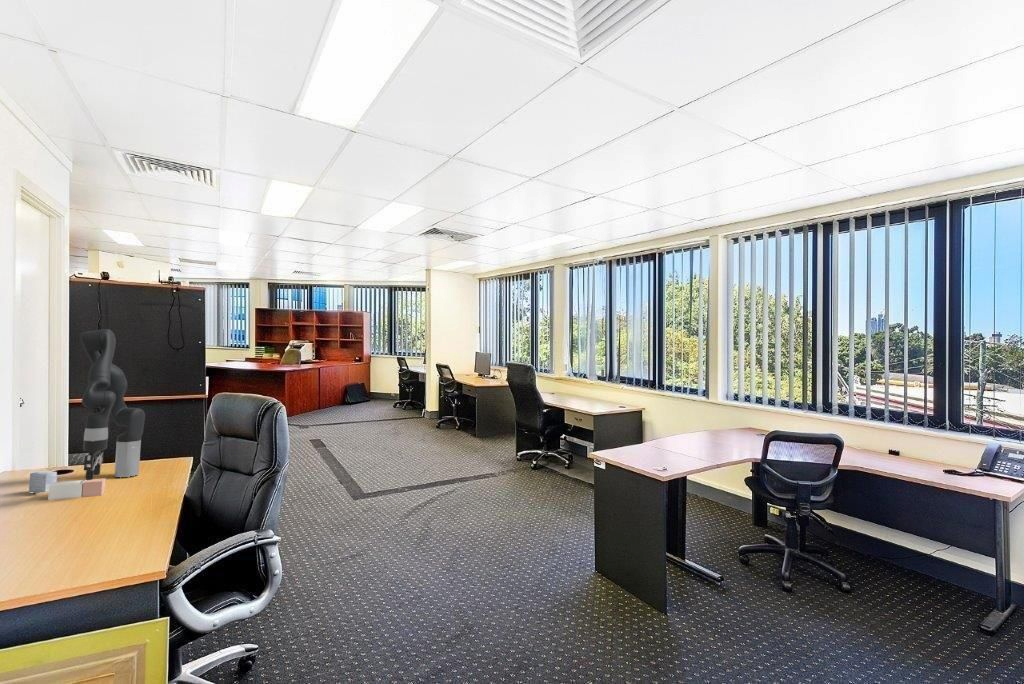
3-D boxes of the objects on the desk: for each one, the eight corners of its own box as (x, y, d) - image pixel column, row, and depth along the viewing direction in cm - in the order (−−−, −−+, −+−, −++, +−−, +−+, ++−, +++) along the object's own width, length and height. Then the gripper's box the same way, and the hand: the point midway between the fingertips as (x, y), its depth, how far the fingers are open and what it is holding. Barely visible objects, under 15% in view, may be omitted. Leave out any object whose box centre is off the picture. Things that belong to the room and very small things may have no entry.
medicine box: (56, 491, 197) (57, 471, 197) (44, 494, 192) (46, 474, 192) (40, 490, 197) (41, 470, 198) (28, 493, 193) (29, 473, 193)
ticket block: (53, 496, 187) (54, 481, 187) (85, 494, 192) (86, 479, 192) (48, 500, 183) (49, 484, 183) (81, 497, 187) (82, 482, 188)
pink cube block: (86, 493, 192) (87, 479, 192) (104, 491, 195) (105, 478, 195) (82, 496, 188) (83, 482, 188) (101, 495, 191) (102, 481, 191)
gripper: (90, 436, 196) (87, 474, 196) (77, 441, 184) (74, 482, 183) (112, 435, 200) (109, 472, 199) (102, 440, 187) (98, 480, 187)
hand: (92, 477), depth 191 cm, fingers open, 8 cm apart
